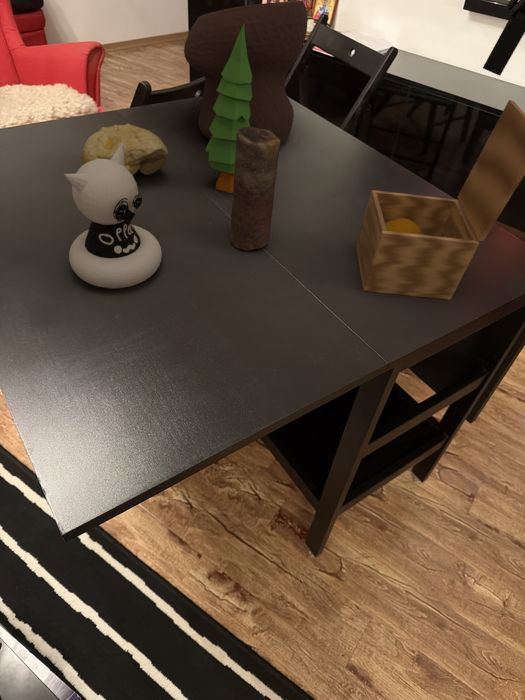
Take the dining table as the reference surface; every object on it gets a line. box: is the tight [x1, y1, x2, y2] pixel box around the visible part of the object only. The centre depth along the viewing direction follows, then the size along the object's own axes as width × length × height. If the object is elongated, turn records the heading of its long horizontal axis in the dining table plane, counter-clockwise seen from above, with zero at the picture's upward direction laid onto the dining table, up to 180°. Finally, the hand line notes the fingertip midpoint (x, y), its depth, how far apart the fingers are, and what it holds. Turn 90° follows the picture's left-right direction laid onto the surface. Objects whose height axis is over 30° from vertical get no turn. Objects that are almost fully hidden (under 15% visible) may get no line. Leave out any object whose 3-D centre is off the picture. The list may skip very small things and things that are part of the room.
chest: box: [355, 189, 480, 301], centre depth 84 cm, size 16×14×12 cm
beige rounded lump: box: [82, 122, 169, 176], centre depth 99 cm, size 17×11×15 cm
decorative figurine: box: [63, 141, 163, 289], centre depth 74 cm, size 15×15×20 cm
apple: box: [385, 218, 422, 235], centre depth 86 cm, size 8×8×9 cm
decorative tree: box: [205, 24, 252, 194], centre depth 92 cm, size 10×9×30 cm
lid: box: [457, 99, 525, 242], centre depth 74 cm, size 16×14×1 cm
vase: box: [183, 0, 309, 146], centre depth 113 cm, size 27×27×30 cm
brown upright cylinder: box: [229, 127, 281, 251], centre depth 83 cm, size 8×7×20 cm
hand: (512, 81), depth 64 cm, fingers open, 13 cm apart
